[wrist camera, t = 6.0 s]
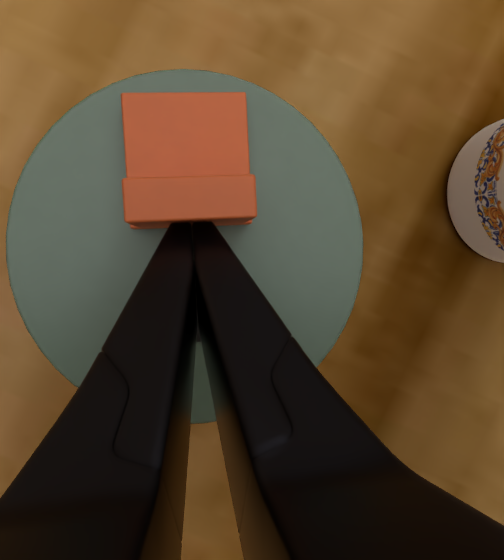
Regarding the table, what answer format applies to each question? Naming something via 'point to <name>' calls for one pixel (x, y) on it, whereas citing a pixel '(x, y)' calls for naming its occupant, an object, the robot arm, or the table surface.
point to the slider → (187, 159)
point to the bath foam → (480, 192)
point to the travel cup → (143, 242)
